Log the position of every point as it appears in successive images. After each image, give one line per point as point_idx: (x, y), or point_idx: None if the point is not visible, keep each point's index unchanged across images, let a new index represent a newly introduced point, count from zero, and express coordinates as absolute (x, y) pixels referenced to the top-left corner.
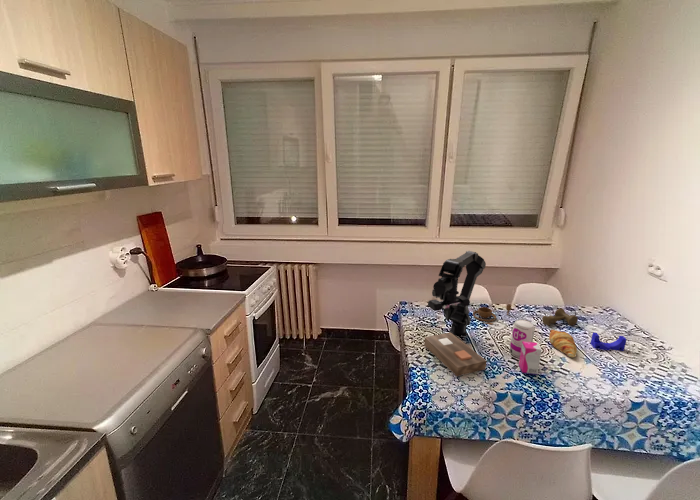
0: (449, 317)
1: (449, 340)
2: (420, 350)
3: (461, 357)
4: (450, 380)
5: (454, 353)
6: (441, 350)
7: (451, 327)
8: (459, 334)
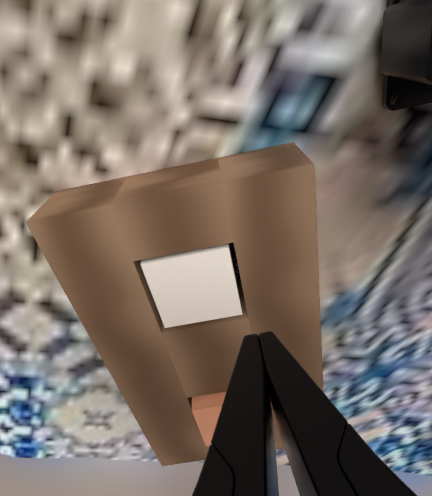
0: (279, 427)
1: (231, 282)
2: (21, 249)
3: (208, 441)
4: (131, 433)
5: (192, 402)
6: (125, 372)
7: (412, 11)
8: (425, 88)
